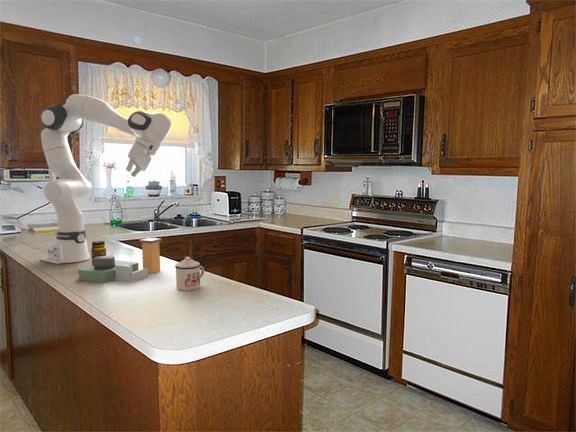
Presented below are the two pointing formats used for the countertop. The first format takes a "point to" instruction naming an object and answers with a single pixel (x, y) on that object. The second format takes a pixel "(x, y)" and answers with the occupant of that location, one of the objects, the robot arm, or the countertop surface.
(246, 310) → the countertop surface
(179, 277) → the teacup with lid
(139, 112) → the robot arm
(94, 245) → the condiment
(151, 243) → the gray-capped orange pillar
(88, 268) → the green base with knob
